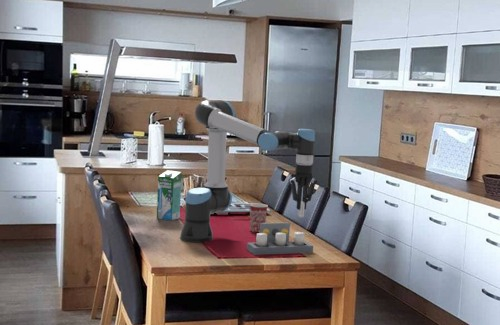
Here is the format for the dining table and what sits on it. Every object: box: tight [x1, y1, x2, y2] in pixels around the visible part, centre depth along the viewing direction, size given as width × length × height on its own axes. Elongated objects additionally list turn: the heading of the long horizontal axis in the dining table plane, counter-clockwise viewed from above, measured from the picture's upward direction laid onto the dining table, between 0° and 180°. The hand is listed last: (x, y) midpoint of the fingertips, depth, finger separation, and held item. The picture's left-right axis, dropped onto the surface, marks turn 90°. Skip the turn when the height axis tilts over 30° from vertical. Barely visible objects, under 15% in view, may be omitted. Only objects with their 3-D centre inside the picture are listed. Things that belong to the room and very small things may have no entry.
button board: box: [246, 240, 314, 256], centre depth 296 cm, size 28×9×4 cm, turn 110°
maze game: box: [215, 202, 271, 216], centre depth 382 cm, size 35×20×3 cm, turn 108°
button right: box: [293, 231, 305, 245], centre depth 299 cm, size 5×5×5 cm
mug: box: [249, 202, 269, 233], centre depth 337 cm, size 13×9×14 cm
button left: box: [255, 233, 267, 247], centre depth 292 cm, size 5×5×5 cm
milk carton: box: [156, 169, 183, 222], centre depth 352 cm, size 9×9×25 cm
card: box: [260, 222, 291, 242], centre depth 302 cm, size 14×1×12 cm, turn 110°
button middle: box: [275, 232, 286, 246], centre depth 295 cm, size 5×5×5 cm
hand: (300, 216), depth 297 cm, fingers closed
